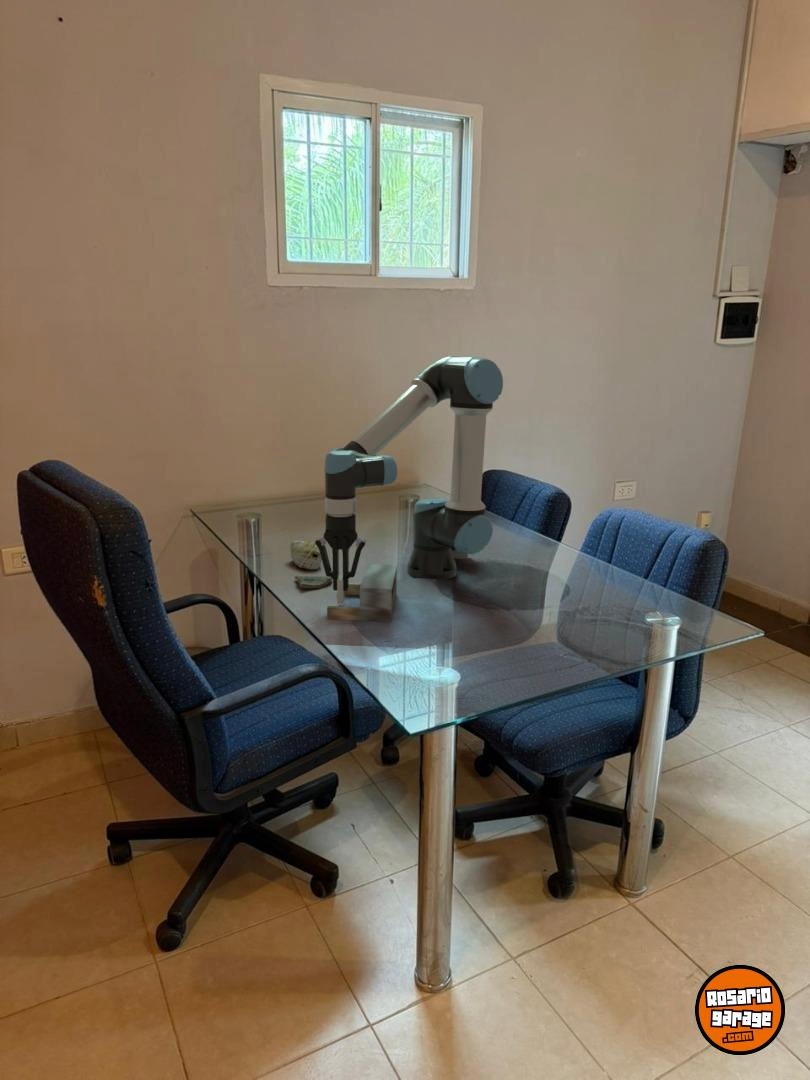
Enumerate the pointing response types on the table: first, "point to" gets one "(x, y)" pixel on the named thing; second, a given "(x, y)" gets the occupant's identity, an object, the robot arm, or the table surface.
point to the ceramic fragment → (313, 581)
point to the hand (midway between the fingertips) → (340, 602)
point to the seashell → (305, 554)
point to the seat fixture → (370, 596)
